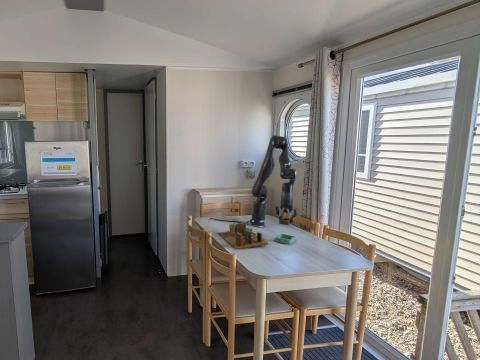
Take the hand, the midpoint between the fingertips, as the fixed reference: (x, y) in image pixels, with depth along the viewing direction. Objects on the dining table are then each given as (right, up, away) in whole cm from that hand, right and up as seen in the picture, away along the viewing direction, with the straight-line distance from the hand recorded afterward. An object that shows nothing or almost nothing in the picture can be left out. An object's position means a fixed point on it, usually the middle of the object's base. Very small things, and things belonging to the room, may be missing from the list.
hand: (285, 222), depth 203 cm
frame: (0, -1, 0) cm, 1 cm away
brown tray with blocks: (-28, -14, +5) cm, 32 cm away
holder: (+1, -14, +3) cm, 14 cm away
